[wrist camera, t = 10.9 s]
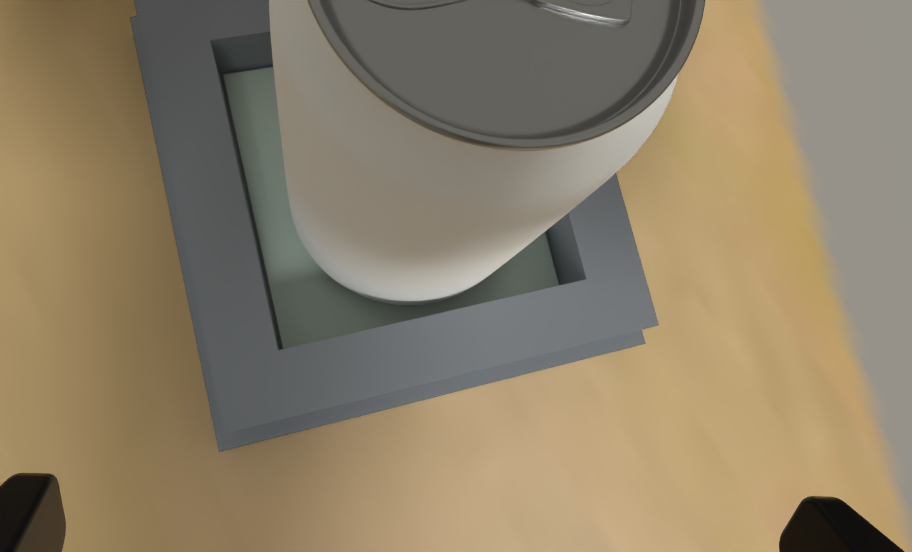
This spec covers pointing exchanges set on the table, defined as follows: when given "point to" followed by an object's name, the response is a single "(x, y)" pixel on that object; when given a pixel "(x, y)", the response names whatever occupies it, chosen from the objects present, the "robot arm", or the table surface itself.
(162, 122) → the holder
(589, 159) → the can
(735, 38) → the table surface
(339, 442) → the table surface
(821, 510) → the robot arm
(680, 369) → the table surface
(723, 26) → the table surface
